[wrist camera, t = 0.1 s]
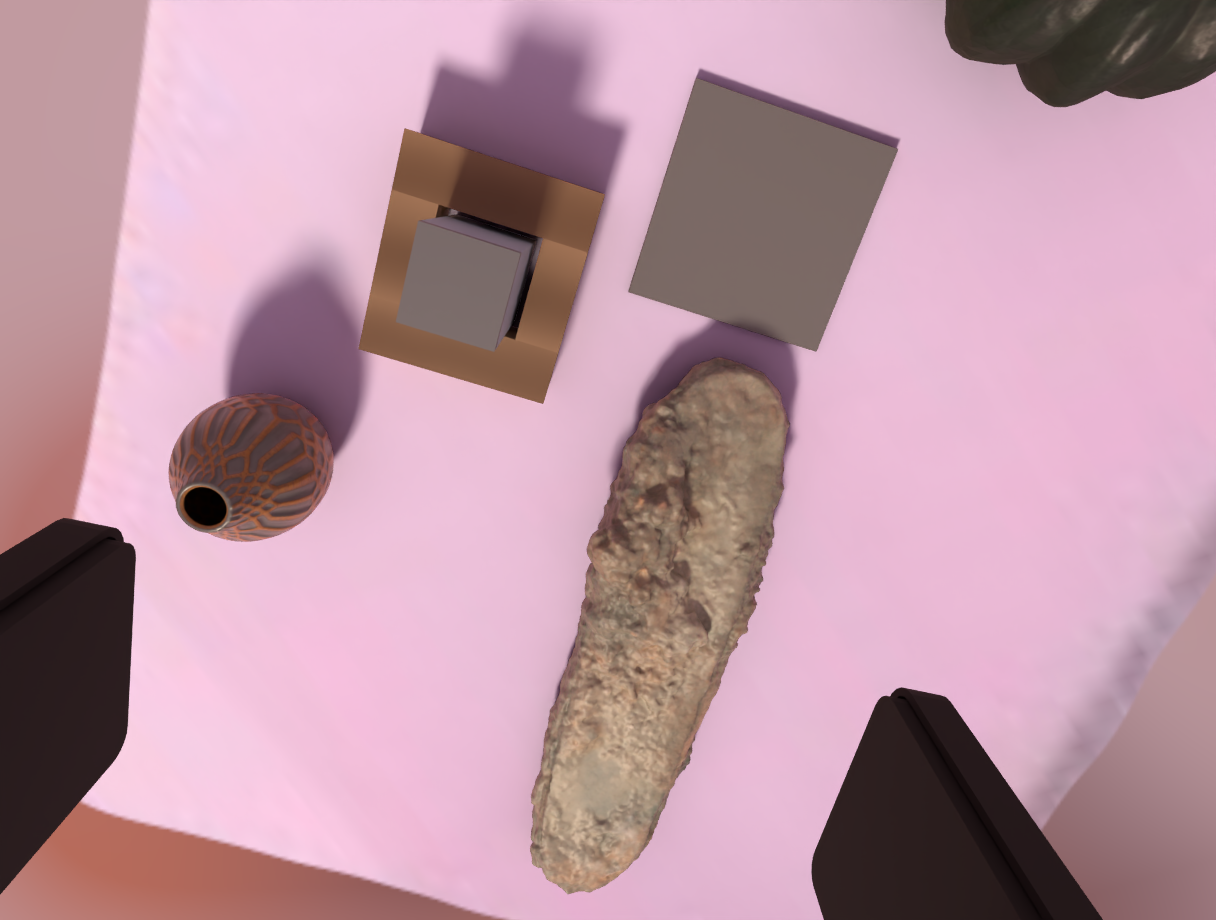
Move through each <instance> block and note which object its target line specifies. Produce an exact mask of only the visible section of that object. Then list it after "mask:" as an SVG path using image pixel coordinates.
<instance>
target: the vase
mask: <svg viewBox="0 0 1216 920" xmlns="http://www.w3.org/2000/svg"><path fill="white" fill-rule="evenodd" d="M332 473H333V450H332V446H331V442H330V439H329V437H328V434H327V432H326V430H325V429H324V427H323V425H322V424H321V423H320V421H319V420H318V419H317V418H316V417H315V416H314V415H313V414H312V413H311V412H310V411H309V410H308V409H306V408H305V407H303V406H302V405H300V404H298V403H296V402H294V401H292V400H290V399H288V398H285V397H282V396H278V395H272V394H264V393H252V394H242V395H237V396H234V397H231V398H228V399H225V400H222V401H220V402H218V403H216V404H214V405H212V406H210V407H208V408H207V409H205V410H204V411H202V412H201V413H200V414H198V415H197V416H196V417H195V418H194V419H193V420H192V421H191V422H190V423H189V424H188V425H187V426H186V428H185V429H184V430H183V432H182V433H181V435H180V436H179V438H178V440H177V442H176V444H175V446H174V449H173V451H172V454H171V458H170V463H169V483H170V488H171V491H172V494H173V497H174V499H175V501H176V508H177V511H178V514H179V516H180V517H181V519H182V520H183V521H184V522H185V523H186V524H187V525H188V526H190V527H191V528H193V529H195V530H197V531H200V532H205V533H209V534H211V535H213V536H216V537H219V538H222V539H226V540H231V541H241V542H247V541H258V540H263V539H267V538H271V537H274V536H277V535H280V534H282V533H284V532H286V531H288V530H290V529H292V528H294V527H295V526H297V525H298V524H300V523H301V522H302V521H304V520H305V519H306V518H307V517H308V516H309V515H310V514H311V513H312V512H313V511H314V510H315V508H316V507H317V506H318V505H319V503H320V502H321V500H322V499H323V497H324V495H325V494H326V492H327V490H328V487H329V485H330V481H331V478H332Z"/></svg>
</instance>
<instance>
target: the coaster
mask: <svg viewBox="0 0 1216 920" xmlns="http://www.w3.org/2000/svg"><path fill="white" fill-rule="evenodd" d="M897 151H898V149H896V148H893V147H891V146H888V145H885V144H882V143H879V142H876V141H874V140H871V139H868V138H865V137H862V136H859V135H857V134H854V133H851V132H848V131H845V130H842V129H840V128H837V127H834V126H831V125H828V124H825V123H823V122H820V121H817V120H814V119H811V118H808V117H806V116H803V115H800V114H797V113H794V112H792V111H789V110H786V109H783V108H780V107H777V106H775V105H772V104H769V103H766V102H763V101H760V100H758V99H755V98H752V97H749V96H746V95H743V94H741V93H738V92H735V91H732V90H729V89H726V88H724V87H721V86H718V85H715V84H712V83H709V82H707V81H704V80H701V79H698V78H696V79H695V83H694V86H693V89H692V92H691V95H690V98H689V102H688V105H687V108H686V111H685V114H684V117H683V120H682V124H681V127H680V130H679V133H678V136H677V139H676V143H675V146H674V149H673V152H672V155H671V158H670V162H669V165H668V168H667V171H666V174H665V177H664V181H663V184H662V187H661V190H660V193H659V196H658V199H657V203H656V206H655V209H654V212H653V215H652V218H651V222H650V225H649V228H648V231H647V234H646V237H645V241H644V244H643V247H642V250H641V253H640V256H639V260H638V263H637V266H636V269H635V272H634V275H633V278H632V282H631V285H630V288H629V292H630V293H633V294H636V295H639V296H642V297H646V298H649V299H652V300H655V301H658V302H661V303H664V304H668V305H671V306H674V307H677V308H680V309H683V310H687V311H690V312H693V313H696V314H699V315H702V316H705V317H709V318H712V319H715V320H718V321H721V322H724V323H727V324H731V325H734V326H737V327H740V328H743V329H746V330H750V331H753V332H756V333H759V334H762V335H765V336H768V337H772V338H775V339H778V340H781V341H784V342H787V343H790V344H794V345H797V346H800V347H803V348H806V349H809V350H813V351H817V349H818V346H819V344H820V341H821V339H822V336H823V334H824V331H825V329H826V326H827V324H828V321H829V319H830V317H831V314H832V312H833V309H834V307H835V304H836V302H837V299H838V297H839V294H840V292H841V289H842V287H843V284H844V282H845V279H846V277H847V275H848V272H849V270H850V267H851V265H852V262H853V260H854V257H855V255H856V252H857V250H858V247H859V245H860V242H861V240H862V237H863V235H864V233H865V230H866V228H867V225H868V223H869V220H870V218H871V215H872V213H873V210H874V208H875V205H876V203H877V200H878V198H879V195H880V193H881V191H882V188H883V186H884V183H885V181H886V178H887V176H888V173H889V171H890V168H891V166H892V163H893V161H894V158H895V156H896V153H897Z"/></svg>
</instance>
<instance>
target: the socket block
mask: <svg viewBox="0 0 1216 920" xmlns="http://www.w3.org/2000/svg"><path fill="white" fill-rule="evenodd" d="M604 196H605V194H602V193H599V192H596V191H593V190H590V189H587V188H584V187H581V186H578V185H575V184H572V183H569V182H566V181H563V180H560V179H557V178H554V177H551V176H548V175H545V174H542V173H539V172H536V171H533V170H530V169H527V168H524V167H521V166H518V165H515V164H512V163H509V162H505V161H502V160H499V159H496V158H493V157H490V156H487V155H484V154H481V153H478V152H475V151H472V150H469V149H466V148H463V147H460V146H457V145H454V144H451V143H448V142H445V141H442V140H439V139H436V138H433V137H430V136H427V135H424V134H421V133H418V132H415V131H412V130H408V129H404V134H403V139H402V143H401V148H400V153H399V158H398V163H397V167H396V172H395V177H394V182H393V186H392V191H391V196H390V201H389V206H388V210H387V215H386V220H385V225H384V229H383V234H382V239H381V244H380V249H379V253H378V258H377V263H376V268H375V272H374V277H373V282H372V287H371V292H370V296H369V301H368V306H367V311H366V316H365V320H364V325H363V330H362V335H361V339H360V344H359V349H360V350H363V351H367V352H370V353H374V354H377V355H380V356H384V357H387V358H390V359H394V360H397V361H400V362H404V363H407V364H411V365H414V366H417V367H421V368H424V369H427V370H431V371H434V372H438V373H441V374H444V375H448V376H451V377H454V378H458V379H461V380H464V381H468V382H471V383H475V384H478V385H481V386H485V387H488V388H491V389H495V390H498V391H501V392H505V393H508V394H512V395H515V396H518V397H522V398H525V399H528V400H532V401H535V402H538V403H542V404H543V403H544V400H545V396H546V393H547V389H548V386H549V383H550V379H551V376H552V373H553V369H554V366H555V362H556V359H557V356H558V352H559V349H560V345H561V342H562V339H563V335H564V332H565V328H566V325H567V322H568V318H569V315H570V311H571V308H572V305H573V301H574V298H575V294H576V291H577V288H578V284H579V281H580V278H581V274H582V271H583V267H584V264H585V261H586V257H587V254H588V250H589V247H590V244H591V240H592V237H593V233H594V230H595V227H596V223H597V220H598V216H599V213H600V210H601V206H602V203H603V200H604ZM450 208H451V209H454V210H457V211H460V212H463V213H466V214H469V215H472V216H476V217H479V218H482V219H485V220H488V221H491V222H494V223H497V224H500V225H504V226H507V227H510V228H513V229H516V230H519V231H522V232H525V233H528V234H532V235H535V236H538V237H541V238H543V240H542V244H541V248H540V251H539V255H538V259H537V262H536V266H535V270H534V273H533V277H532V280H531V284H530V288H529V291H528V295H527V299H526V302H525V306H524V310H523V313H522V317H521V320H520V324H519V328H517V327H513V326H511V327H510V328H509V330H508V331H507V333H506V335H505V336H504V338H503V339H502V341H501V342H500V344H499V345H498V347H497V348H496V350H495V351H494V352H493V351H489V350H486V349H483V348H479V347H476V346H473V345H470V344H466V343H463V342H460V341H456V340H453V339H450V338H446V337H443V336H440V335H437V334H433V333H430V332H427V331H423V330H420V329H417V328H413V327H410V326H407V325H404V324H400V323H397V322H396V318H397V314H398V309H399V305H400V300H401V296H402V291H403V287H404V282H405V278H406V273H407V269H408V264H409V260H410V255H411V251H412V246H413V242H414V237H415V233H416V228H417V224H418V221H419V220H426V219H432V218H438V217H444V216H448V213H449V209H450Z"/></svg>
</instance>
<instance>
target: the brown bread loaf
mask: <svg viewBox="0 0 1216 920" xmlns="http://www.w3.org/2000/svg"><path fill="white" fill-rule="evenodd" d="M781 399H782V397H781V394H780V392H779V391H778V389H777V388H776V387H775V386H774V385H773V383H772V382H771V381H770V380H769V379H768V378H767V377H766V375H765V374H764V373H762V372H760V371H757V370H755V369H752V368H749V367H747V366H746V365H744V364H740V363H736V362H734V361H731V360H728V359H723V358H714V359H711V360H709V361H707V362H701V363H700V364H697V365H695V366H693V367H692V369H691V370H690V371H689V372H688V374H687V375H686V376H685V377H684V378H683V379H682V381H680V383H679V384H678V386H677V387H676V388H674V389H672V390H671V392H670V393H669V394H668V395H667V396H665V397H664V398H662V399H660V400H659V401H658V402H657V403H652V404H650V405H648V406H647V407H645V409H644V411H643V414H642V416H643V418H642V419H641V420H640V421H639V424H638V428H637V431H636V432H635V433H634V435H633V436H631V437H630V438H629V439H628V440H627V442H626V446H625V447H624V449H623V457H622V458H623V462H622V467H621V469H620V470H619V472H618V477H617V479H616V480H615V481H613V483H612V484H611V486H610V490H611V495H610V498H609V499H608V501H607V504H606V505H605V507H604V517H603V518H602V520H601V522H600V523H599V525H598V530H597V531H596V532H594V533H593V534H592V536H591V538H590V540H589V544H588V546H587V554H588V556H589V558H590V560H591V562H592V563H591V564H590V565H589V567H588V570H587V572H586V584H585V595H586V598H585V599H584V601H583V602H582V606H581V616H580V621H579V623H578V635H577V637H576V640H575V648H574V650H573V653H572V656H571V657H570V659H569V663H568V664H567V668H566V669H565V671H564V674H563V677H562V680H561V683H560V693H559V696H558V698H557V700H556V702H555V704H554V706H553V707H552V708H551V709H550V716H549V722H548V728H547V730H546V732H545V738H544V749H543V752H544V755H543V758H542V762H541V771H540V773H539V775H538V776H537V779H536V781H535V785H534V789H533V790H532V794H531V803H532V804H533V805H534V808H533V811H532V818H533V827H532V830H531V840H532V841H533V843H532V845H531V846H530V852H531V856H532V864H533V865H534V866H536V867H538V868H542V869H543V873H544V874H545V876H546V879H547V880H548V881H551V882H553V883H555V884H557V885H558V886H559V887H560V888H562V889H563V890H564V891H565V892H566V893H567V894H571V893H575V892H578V891H585V892H592V891H593V890H596V889H599V888H601V887H603V886H605V885H607V884H608V883H609V882H611V881H612V880H614V879H615V878H617V877H618V876H619V875H620V874H621V873H622V872H624V871H625V870H626V869H628V867H629V866H630V865H631V864H632V862H633V861H635V860H636V859H638V858H639V856H640V853H641V852H642V851H643V850H644V848H645V847H646V846H647V845H648V843H649V841H650V840H651V839H652V835H653V833H654V829H655V828H656V826H657V824H658V820H659V816H660V814H661V812H662V810H663V809H664V808H665V804H666V801H667V798H668V795H669V792H670V789H671V788H672V787H673V786H674V784H675V780H676V778H678V776H679V775H680V773H681V772H682V771H683V770H685V768H686V766H687V765H688V764H689V763H690V754H691V753H692V743H693V742H694V741H695V734H696V732H697V730H698V729H699V727H700V725H701V723H702V720H703V718H704V716H705V714H706V712H707V710H708V709H709V706H710V703H711V701H712V699H713V697H714V696H715V695H716V693H717V691H718V689H719V686H720V683H721V677H722V675H723V673H724V670H725V667H726V665H727V663H728V658H729V656H730V654H731V653H732V652H733V651H734V649H735V648H737V646H738V643H737V641H738V639H739V638H740V636H741V635H742V634H745V633H747V631H748V628H747V625H748V621H749V619H750V617H751V615H752V614H753V612H754V610H755V608H756V605H757V603H756V601H755V597H754V594H755V593H757V592H759V591H760V588H759V585H760V583H761V582H762V581H763V577H762V566H765V565H766V561H765V560H766V557H767V555H768V550H769V548H771V546H772V538H773V537H774V527H773V517H774V510H775V508H776V506H777V504H778V501H779V499H780V497H781V494H782V491H783V490H784V486H783V483H782V474H783V471H784V465H783V455H784V450H785V445H786V435H787V430H788V428H789V426H790V423H789V421H788V419H787V415H786V412H785V409H784V407H783V405H782V402H781Z"/></svg>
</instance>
